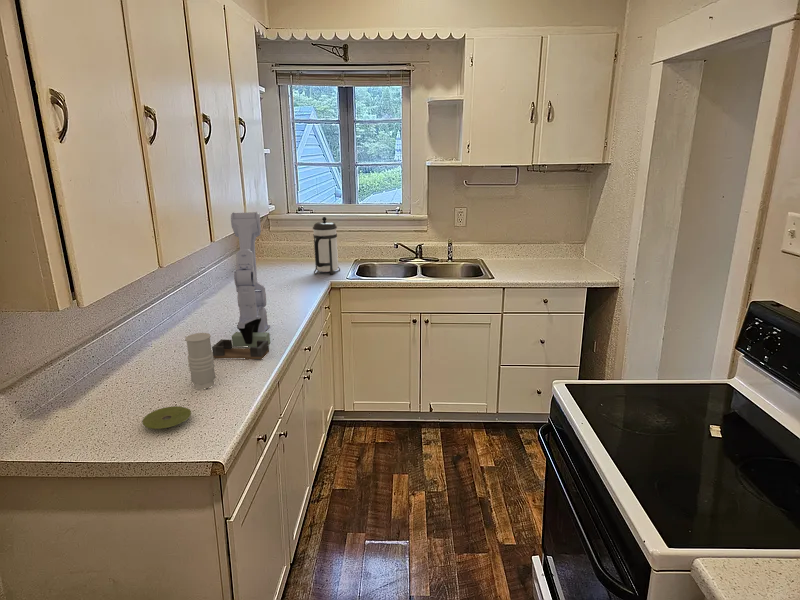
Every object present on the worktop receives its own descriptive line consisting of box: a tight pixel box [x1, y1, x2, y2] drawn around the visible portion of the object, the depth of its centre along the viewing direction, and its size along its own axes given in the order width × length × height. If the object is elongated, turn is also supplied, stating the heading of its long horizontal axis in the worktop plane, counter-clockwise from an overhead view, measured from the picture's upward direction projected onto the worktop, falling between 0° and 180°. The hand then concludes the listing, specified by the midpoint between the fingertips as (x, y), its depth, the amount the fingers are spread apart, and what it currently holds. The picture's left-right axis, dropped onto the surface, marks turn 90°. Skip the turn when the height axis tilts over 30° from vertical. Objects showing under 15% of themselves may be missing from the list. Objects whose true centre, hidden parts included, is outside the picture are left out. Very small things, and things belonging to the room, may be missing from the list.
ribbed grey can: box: [184, 332, 217, 390], centre depth 152 cm, size 7×7×15 cm
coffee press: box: [312, 216, 341, 276], centre depth 282 cm, size 17×16×30 cm
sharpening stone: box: [231, 331, 271, 348], centre depth 184 cm, size 4×12×4 cm, turn 86°
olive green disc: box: [142, 405, 192, 430], centre depth 133 cm, size 11×11×2 cm
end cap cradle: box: [211, 339, 270, 360], centre depth 175 cm, size 7×16×4 cm, turn 84°
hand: (251, 341), depth 184 cm, fingers closed on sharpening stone, 4 cm apart
